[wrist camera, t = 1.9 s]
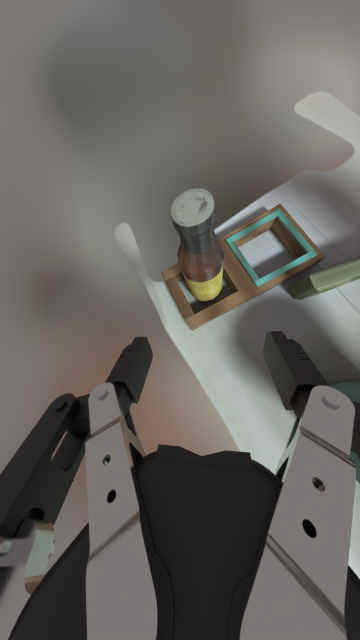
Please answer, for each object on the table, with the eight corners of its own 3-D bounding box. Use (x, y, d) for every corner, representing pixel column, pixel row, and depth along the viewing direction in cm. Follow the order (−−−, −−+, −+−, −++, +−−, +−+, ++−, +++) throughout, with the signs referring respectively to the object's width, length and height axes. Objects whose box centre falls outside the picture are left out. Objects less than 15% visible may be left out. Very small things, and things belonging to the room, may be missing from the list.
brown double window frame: (274, 216, 32) (281, 201, 29) (314, 265, 29) (327, 255, 26) (165, 278, 35) (160, 272, 32) (192, 330, 32) (189, 328, 29)
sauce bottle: (227, 289, 32) (252, 203, 13) (204, 309, 32) (194, 256, 13) (205, 268, 34) (197, 164, 14) (184, 288, 34) (147, 212, 15)
